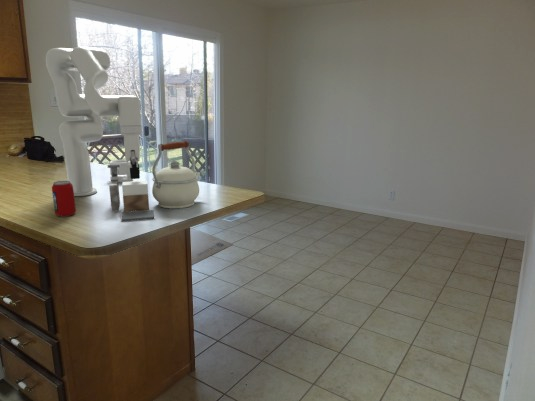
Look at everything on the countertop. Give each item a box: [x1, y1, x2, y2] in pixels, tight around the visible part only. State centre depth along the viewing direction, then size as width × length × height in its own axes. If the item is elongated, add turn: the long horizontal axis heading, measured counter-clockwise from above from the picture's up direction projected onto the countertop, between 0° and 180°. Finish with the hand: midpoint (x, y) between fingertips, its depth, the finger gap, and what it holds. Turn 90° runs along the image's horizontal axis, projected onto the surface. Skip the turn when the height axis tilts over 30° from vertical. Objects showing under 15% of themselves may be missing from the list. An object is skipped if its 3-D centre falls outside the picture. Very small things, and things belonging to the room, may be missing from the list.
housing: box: [108, 179, 150, 212], centre depth 149 cm, size 14×13×10 cm
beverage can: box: [51, 180, 77, 217], centre depth 138 cm, size 7×7×12 cm
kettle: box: [151, 140, 201, 210], centre depth 153 cm, size 25×18×25 cm
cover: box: [121, 180, 149, 197], centre depth 147 cm, size 9×6×4 cm, turn 108°
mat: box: [120, 209, 155, 222], centre depth 138 cm, size 11×9×1 cm
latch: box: [107, 164, 127, 181], centre depth 150 cm, size 7×3×6 cm, turn 108°
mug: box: [108, 159, 134, 183], centre depth 196 cm, size 14×11×10 cm
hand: (135, 176), depth 145 cm, fingers open, 9 cm apart
